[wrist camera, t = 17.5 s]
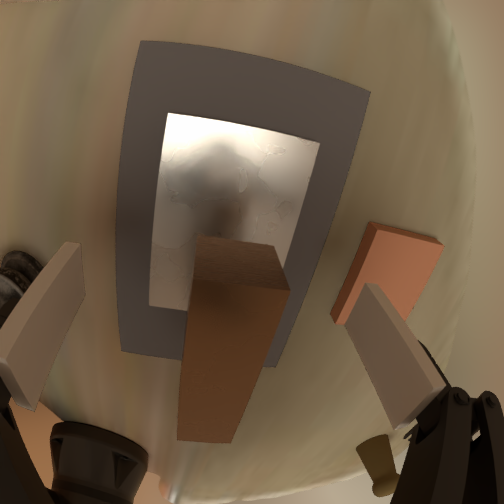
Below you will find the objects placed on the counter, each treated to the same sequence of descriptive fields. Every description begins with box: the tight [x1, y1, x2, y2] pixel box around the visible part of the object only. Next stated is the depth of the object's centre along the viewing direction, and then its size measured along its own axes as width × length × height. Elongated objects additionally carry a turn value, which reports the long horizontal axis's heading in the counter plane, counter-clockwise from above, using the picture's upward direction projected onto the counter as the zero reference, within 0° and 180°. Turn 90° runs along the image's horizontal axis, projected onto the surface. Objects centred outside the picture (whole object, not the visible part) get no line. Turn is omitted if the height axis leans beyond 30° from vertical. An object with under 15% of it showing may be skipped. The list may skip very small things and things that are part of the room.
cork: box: [356, 434, 400, 497], centre depth 35 cm, size 6×6×11 cm
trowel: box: [149, 113, 320, 443], centre depth 14 cm, size 15×8×9 cm, turn 167°
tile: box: [330, 222, 444, 325], centre depth 21 cm, size 7×2×8 cm
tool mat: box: [116, 41, 371, 367], centre depth 18 cm, size 13×22×1 cm, turn 167°
